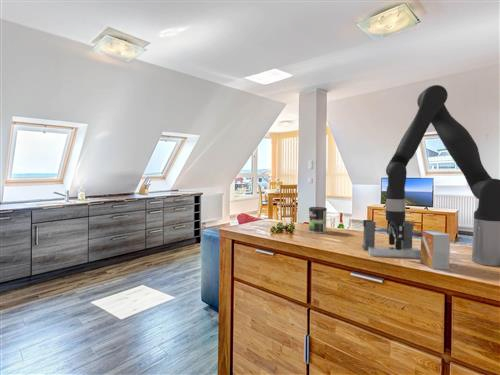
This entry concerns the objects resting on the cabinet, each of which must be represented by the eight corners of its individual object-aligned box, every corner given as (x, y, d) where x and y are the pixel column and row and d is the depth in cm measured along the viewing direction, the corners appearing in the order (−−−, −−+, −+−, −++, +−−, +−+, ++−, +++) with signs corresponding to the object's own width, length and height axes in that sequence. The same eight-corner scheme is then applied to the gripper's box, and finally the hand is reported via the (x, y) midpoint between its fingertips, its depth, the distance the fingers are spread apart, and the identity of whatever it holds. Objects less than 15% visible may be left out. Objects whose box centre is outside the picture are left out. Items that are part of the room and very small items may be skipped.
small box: (419, 262, 117) (420, 230, 116) (435, 262, 117) (437, 230, 116) (432, 269, 109) (433, 234, 108) (449, 269, 109) (450, 234, 108)
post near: (408, 248, 137) (409, 220, 136) (413, 252, 131) (414, 223, 130) (397, 248, 138) (398, 220, 137) (401, 251, 132) (402, 222, 131)
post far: (372, 247, 140) (373, 220, 139) (376, 250, 134) (376, 222, 133) (361, 246, 140) (362, 219, 140) (364, 250, 135) (365, 222, 134)
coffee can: (315, 233, 169) (316, 209, 168) (305, 230, 178) (305, 207, 177) (330, 232, 173) (330, 208, 172) (319, 229, 182) (319, 206, 181)
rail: (417, 256, 126) (417, 248, 126) (420, 258, 123) (421, 250, 122) (368, 254, 129) (368, 246, 129) (370, 256, 126) (370, 248, 125)
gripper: (411, 211, 117) (410, 252, 118) (399, 207, 131) (398, 243, 132) (391, 211, 118) (390, 251, 119) (381, 207, 132) (381, 242, 133)
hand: (394, 247), depth 126 cm, fingers open, 8 cm apart
